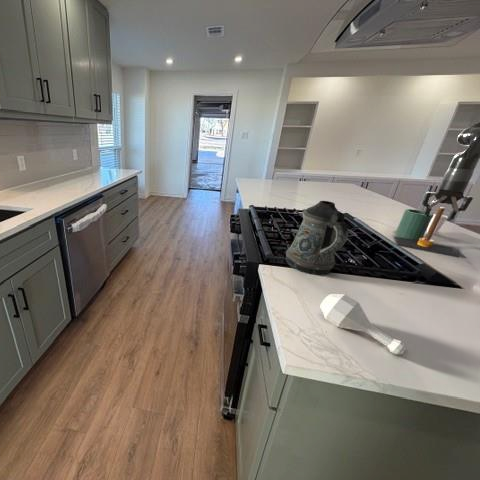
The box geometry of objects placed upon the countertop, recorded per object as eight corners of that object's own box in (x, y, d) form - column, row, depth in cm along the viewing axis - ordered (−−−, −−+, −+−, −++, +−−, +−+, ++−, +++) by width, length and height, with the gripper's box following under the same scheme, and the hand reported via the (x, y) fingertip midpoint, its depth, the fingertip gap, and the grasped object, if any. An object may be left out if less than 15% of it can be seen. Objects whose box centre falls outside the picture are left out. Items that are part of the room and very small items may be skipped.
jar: (419, 236, 129) (430, 211, 124) (423, 242, 121) (435, 216, 116) (394, 231, 134) (404, 207, 129) (396, 237, 127) (407, 212, 122)
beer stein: (298, 251, 109) (314, 194, 99) (349, 271, 94) (373, 206, 84) (275, 261, 100) (290, 199, 90) (327, 284, 85) (351, 213, 76)
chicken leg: (390, 368, 56) (417, 340, 54) (312, 312, 67) (331, 287, 65) (391, 360, 62) (415, 334, 60) (319, 310, 73) (337, 287, 71)
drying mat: (450, 247, 116) (451, 246, 116) (458, 257, 107) (459, 256, 107) (394, 237, 126) (394, 236, 126) (397, 245, 117) (397, 244, 117)
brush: (430, 244, 117) (448, 207, 110) (432, 248, 113) (451, 209, 106) (416, 242, 120) (433, 205, 112) (418, 245, 116) (436, 207, 109)
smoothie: (419, 230, 137) (431, 205, 131) (433, 231, 136) (445, 206, 130) (428, 234, 131) (441, 208, 125) (443, 235, 130) (456, 209, 124)
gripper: (434, 178, 105) (417, 216, 112) (485, 182, 98) (464, 223, 105) (430, 176, 111) (414, 212, 118) (478, 180, 104) (458, 218, 110)
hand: (437, 217), depth 111 cm, fingers open, 6 cm apart
